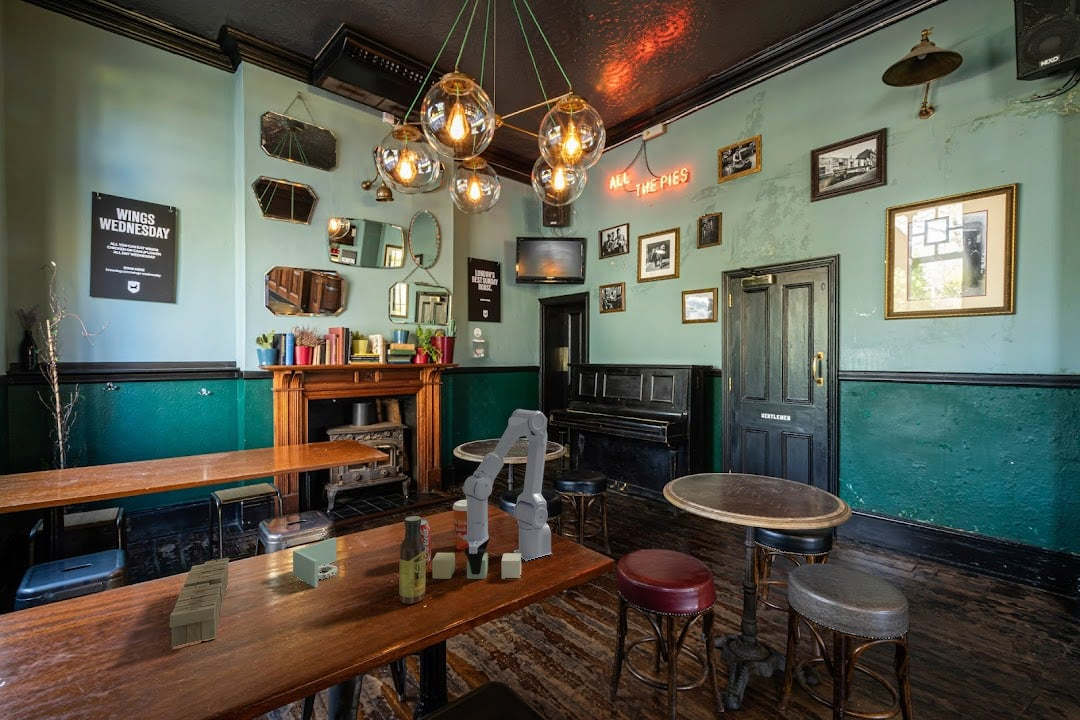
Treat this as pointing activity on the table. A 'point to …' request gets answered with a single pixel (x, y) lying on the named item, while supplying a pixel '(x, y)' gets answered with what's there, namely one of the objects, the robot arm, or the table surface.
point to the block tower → (200, 603)
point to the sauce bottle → (412, 563)
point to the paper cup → (460, 523)
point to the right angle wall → (315, 561)
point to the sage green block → (483, 569)
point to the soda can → (426, 538)
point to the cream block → (511, 565)
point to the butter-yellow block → (443, 565)
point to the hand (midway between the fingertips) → (477, 569)
